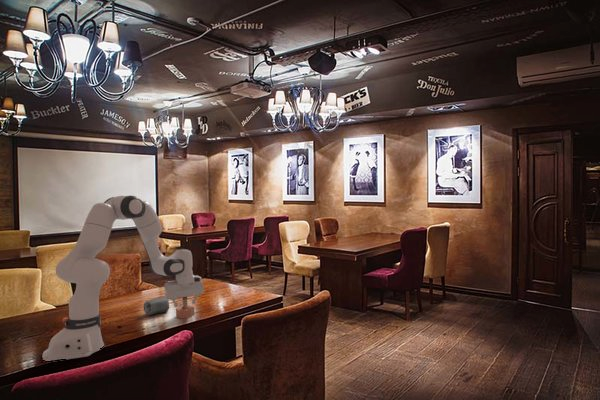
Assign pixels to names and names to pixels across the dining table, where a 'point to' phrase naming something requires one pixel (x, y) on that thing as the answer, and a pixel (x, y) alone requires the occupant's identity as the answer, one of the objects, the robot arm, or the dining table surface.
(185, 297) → the dowel
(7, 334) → the dining table surface
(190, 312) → the bead
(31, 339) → the dining table surface
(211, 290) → the dining table surface
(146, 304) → the spool
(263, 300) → the dining table surface
